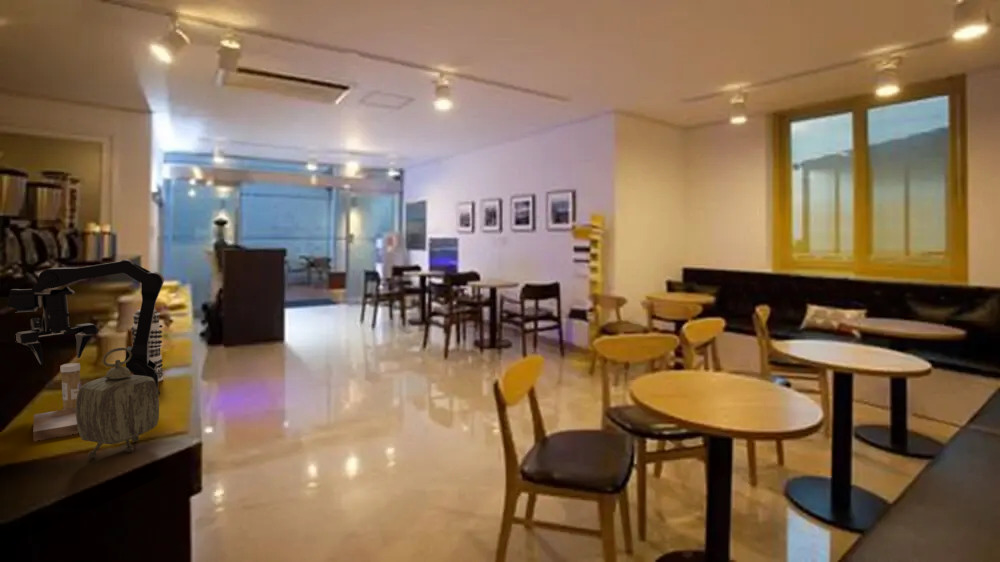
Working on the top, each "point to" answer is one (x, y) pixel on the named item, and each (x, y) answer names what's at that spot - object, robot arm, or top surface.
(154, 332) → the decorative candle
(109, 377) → the tabletop clock
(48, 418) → the wooden board
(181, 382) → the top surface
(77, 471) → the top surface
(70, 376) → the sprinkles bottle
